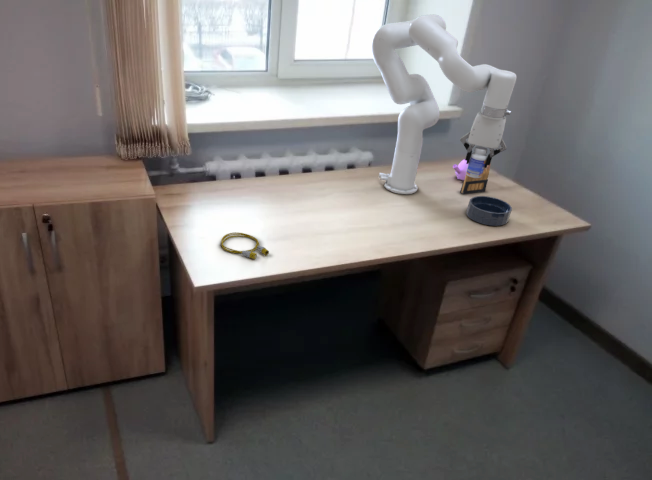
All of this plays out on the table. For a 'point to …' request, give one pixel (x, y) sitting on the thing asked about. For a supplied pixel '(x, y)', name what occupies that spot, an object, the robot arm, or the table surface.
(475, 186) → the ammunition clip
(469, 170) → the pill bottle
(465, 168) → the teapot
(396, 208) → the table surface
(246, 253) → the extension cord
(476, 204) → the bowl
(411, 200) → the table surface
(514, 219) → the table surface
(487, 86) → the robot arm
